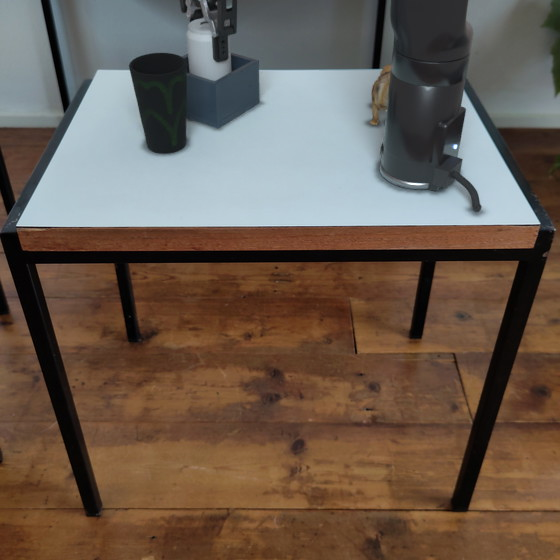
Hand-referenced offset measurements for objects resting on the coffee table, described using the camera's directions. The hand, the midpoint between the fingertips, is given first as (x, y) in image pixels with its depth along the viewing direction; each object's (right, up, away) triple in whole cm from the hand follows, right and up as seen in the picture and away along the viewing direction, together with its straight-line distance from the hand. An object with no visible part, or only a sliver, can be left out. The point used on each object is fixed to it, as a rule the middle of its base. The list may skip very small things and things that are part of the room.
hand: (209, 52), depth 108 cm
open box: (0, -7, +6) cm, 9 cm away
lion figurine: (+27, -9, +3) cm, 29 cm away
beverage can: (0, -6, +5) cm, 8 cm away
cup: (-6, -15, -4) cm, 16 cm away
